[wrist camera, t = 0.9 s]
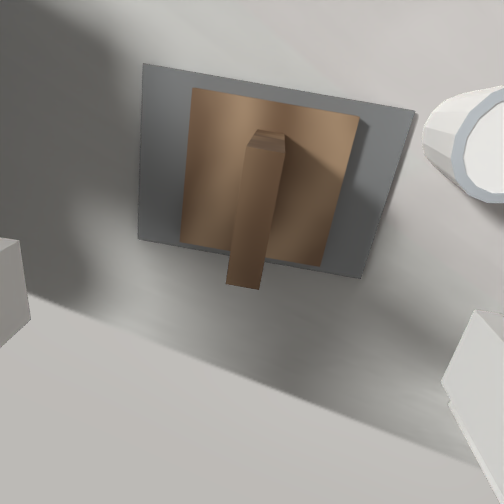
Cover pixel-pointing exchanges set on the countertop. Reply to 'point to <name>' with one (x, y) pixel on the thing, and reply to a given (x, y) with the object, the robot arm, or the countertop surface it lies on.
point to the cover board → (297, 176)
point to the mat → (180, 91)
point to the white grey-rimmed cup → (469, 142)
